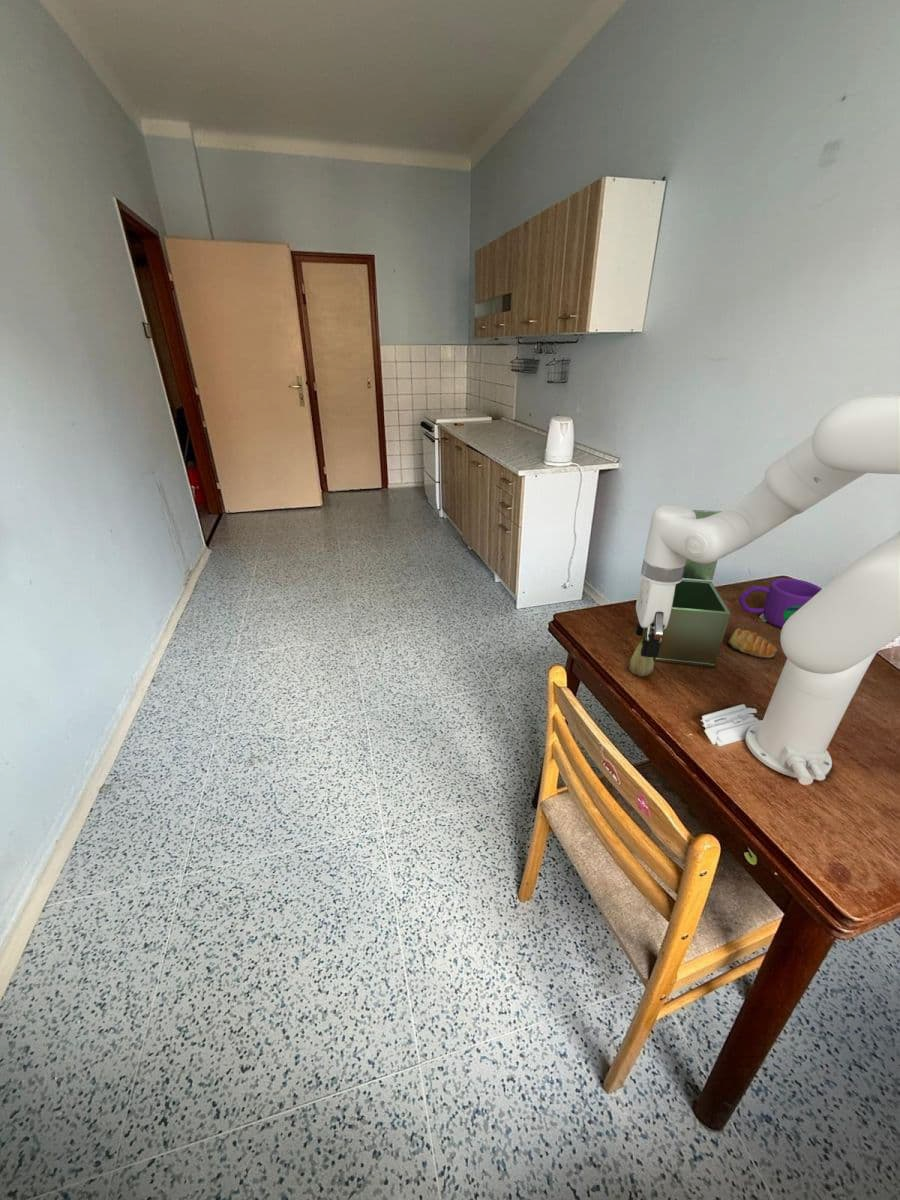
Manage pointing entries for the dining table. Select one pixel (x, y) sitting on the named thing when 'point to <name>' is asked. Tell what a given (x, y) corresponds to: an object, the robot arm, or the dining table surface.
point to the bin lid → (698, 569)
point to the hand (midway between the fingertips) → (646, 644)
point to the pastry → (751, 643)
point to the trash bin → (694, 625)
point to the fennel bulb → (641, 660)
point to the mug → (781, 599)
